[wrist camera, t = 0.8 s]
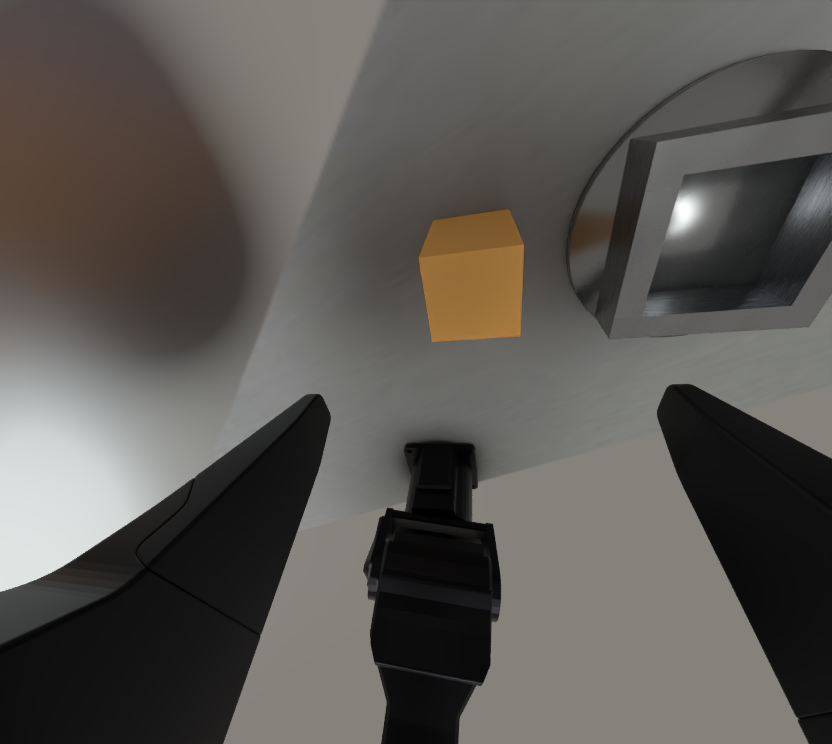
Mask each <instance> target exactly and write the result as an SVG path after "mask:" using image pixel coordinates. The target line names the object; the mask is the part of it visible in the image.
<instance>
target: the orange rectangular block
mask: <svg viewBox="0 0 832 744" xmlns="http://www.w3.org/2000/svg"><path fill="white" fill-rule="evenodd" d="M523 261H524V243H523V241H522V238H521V236H520V233H519V231H518V228H517V226H516V224H515V221H514V219H513V216H512V214H511V212H510V209H505V210H499V211H492V212H485V213H478V214H472V215H465V216H458V217H452V218H445V219H438V220H433V222H432V224H431V227H430V229H429V232H428V235H427V237H426V240H425V242H424V245H423V247H422V250H421V253H420V255H419V264H420V270H421V276H422V282H423V289H424V295H425V301H426V307H427V314H428V320H429V326H430V332H431V339H432V342H442V341H457V340H473V339H488V338H503V337H518V336H520V333H521V309H522V285H523Z"/></svg>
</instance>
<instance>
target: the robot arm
mask: <svg viewBox="0 0 832 744" xmlns="http://www.w3.org/2000/svg"><path fill="white" fill-rule="evenodd" d="M657 417H658V421H659V424H660V427H661V429H662V432H663V435H664V438H665V441H666V444H667V446H668V450H669V452H670V455H671V458H672V461H673V464H674V467H675V469H676V472H677V474H678V477H679V479H680V481H681V483H682V485H683V488H684V490H685V492H686V494H687V496H688V498H689V500H690V502H691V504H692V506H693V508H694V510H695V512H696V514H697V516H698V518H699V520H700V522H701V524H702V526H703V528H704V530H705V532H706V534H707V536H708V539H709V540H710V543H711V545H712V546H713V549H714V551H715V553H716V555H717V557H718V559H719V561H720V563H721V565H722V567H723V569H724V571H725V573H726V575H727V577H728V579H729V581H730V583H731V585H732V587H733V589H734V592H735V594H736V596H737V597H738V600H739V602H740V604H741V606H742V608H743V610H744V612H745V614H746V616H747V617H748V620H749V622H750V624H751V626H752V628H753V630H754V632H755V634H756V636H757V638H758V640H759V642H760V644H761V646H762V649H763V651H764V653H765V655H766V657H767V659H768V661H769V663H770V665H771V667H772V669H773V671H774V673H775V675H776V677H777V679H778V681H779V683H780V685H781V687H782V689H783V691H784V693H785V695H786V697H787V699H788V701H789V704H790V706H791V708H792V710H793V711H794V714H795V715H796V717H797V718H799V719H798V723H799V725H800V727H801V729H802V730H803V733H804V735H805V737H806V739H807V741H808V743H809V744H832V459H831V458H829V457H828V456H826V455H824V454H822V453H820V452H818V451H816V450H814V449H812V448H811V447H809V446H807V445H805V444H803V443H801V442H799V441H797V440H795V439H794V438H792V437H790V436H788V435H786V434H784V433H782V432H780V431H778V430H777V429H775V428H773V427H771V426H769V425H767V424H765V423H763V422H761V421H760V420H758V419H756V418H754V417H752V416H750V415H748V414H746V413H745V412H743V411H741V410H739V409H737V408H735V407H733V406H731V405H730V404H728V403H726V402H724V401H722V400H720V399H718V398H716V397H714V396H713V395H711V394H709V393H707V392H705V391H703V390H701V389H699V388H697V387H696V386H693V385H691V384H673V385H670V386H668V387H667V389H666V390H665V393H664V395H663V397H662V400H661V402H660V404H659V407H658V409H657ZM330 421H331V415H330V412H329V410H328V408H327V405H326V403H325V401H324V399H323V397H322V396H321V395H320V394H308V395H305V396H304V397H302V398H301V399H300V400H298V401H297V402H296V403H294V404H293V405H292V406H290V407H289V408H288V409H286V410H285V411H284V412H282V413H281V414H279V415H278V416H277V417H275V418H274V419H273V420H271V421H270V422H269V423H267V424H266V425H265V426H263V427H262V428H260V429H259V430H258V431H256V432H255V433H254V434H252V435H251V436H250V437H248V438H247V439H246V440H244V441H243V442H241V443H240V444H239V445H237V446H236V447H235V448H233V449H232V450H231V451H229V452H228V453H227V454H225V455H224V456H223V457H221V458H220V459H218V460H217V461H216V462H214V463H213V464H212V465H210V466H209V467H208V468H206V469H205V470H204V471H202V472H201V473H199V474H198V475H197V476H196V477H195V478H193V479H191V480H190V481H189V482H187V483H186V484H185V485H183V486H182V487H181V488H179V489H178V490H176V491H175V492H174V493H172V494H171V495H169V496H168V497H167V498H165V499H164V500H162V501H161V502H160V503H158V504H157V505H155V506H154V507H152V508H151V509H150V510H148V511H146V512H145V513H143V514H142V515H140V516H139V517H138V518H136V519H135V520H133V521H132V522H130V523H129V524H127V525H126V526H124V527H123V528H121V529H120V530H118V531H117V532H115V533H113V534H112V535H110V536H109V537H107V538H106V539H104V540H103V541H101V542H100V543H98V544H97V545H95V546H94V547H92V548H91V549H90V550H88V551H86V552H85V553H83V554H82V555H80V556H79V557H77V558H76V559H74V560H73V561H71V562H70V563H68V564H66V565H65V566H63V567H61V568H60V569H57V570H56V571H54V572H52V573H50V574H48V575H46V576H43V577H41V578H39V579H37V580H34V581H32V582H29V583H27V584H24V585H21V586H18V587H15V588H12V589H9V590H6V591H2V592H0V744H223V742H224V740H225V737H226V734H227V731H228V728H229V725H230V722H231V720H232V717H233V714H234V711H235V708H236V705H237V703H238V700H239V697H240V694H241V691H242V688H243V685H244V683H245V680H246V677H247V674H248V671H249V668H250V665H251V663H252V660H253V657H254V654H255V651H256V648H257V645H258V642H259V640H260V634H261V633H262V630H263V628H264V625H265V622H266V619H267V616H268V613H269V610H270V608H271V605H272V602H273V599H274V596H275V593H276V590H277V588H278V585H279V582H280V579H281V576H282V573H283V570H284V568H285V565H286V562H287V559H288V556H289V553H290V550H291V547H292V545H293V542H294V539H295V536H296V533H297V530H298V528H299V525H300V522H301V519H302V516H303V513H304V510H305V508H306V505H307V502H308V499H309V496H310V493H311V490H312V488H313V485H314V482H315V479H316V476H317V473H318V470H319V467H320V463H321V460H322V455H323V451H324V447H325V443H326V438H327V434H328V430H329V425H330ZM404 452H405V456H406V459H407V462H408V466H409V469H410V472H411V480H410V486H409V492H408V497H407V503H406V509H405V511H398V510H394V509H393V508H387V510H386V514H385V516H382V517H380V518H379V523H378V527H377V531H376V535H375V538H374V541H373V544H372V546H371V549H370V551H369V554H368V556H367V559H366V561H365V564H364V570H363V572H364V574H365V576H366V577H367V579H368V582H367V586H368V599H369V600H374V601H375V605H374V612H373V617H372V624H371V629H370V638H371V648H372V652H373V658H374V662H375V664H376V665H377V666H378V669H379V673H380V677H381V681H382V685H383V688H384V693H385V696H386V700H387V706H386V714H385V721H384V728H383V735H382V743H381V744H458V736H459V719H460V716H461V714H462V712H463V710H464V708H465V706H466V704H467V702H468V700H469V698H470V697H471V695H472V693H473V691H474V689H475V687H476V685H478V686H481V685H482V684H483V682H484V679H485V677H486V675H487V672H488V669H489V667H490V653H491V622H497V620H498V617H499V611H500V603H501V579H500V569H499V562H498V555H497V550H496V542H495V535H494V529H493V524H490V523H486V524H482V523H476V522H472V489H476V488H477V487H478V481H477V468H476V456H475V447H474V446H472V445H426V444H408V445H406V446H405V448H404Z"/></svg>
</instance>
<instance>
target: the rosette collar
mask: <svg viewBox="0 0 832 744" xmlns="http://www.w3.org/2000/svg"><path fill="white" fill-rule="evenodd" d="M567 267H568V273H569V276H570V280H571V283H572V285H573V288H574V290H575V292H576V294H577V296H578V297H579V299H580V300H581V302H582V303H583V305H584V306H585V308H586V309H587V310H588V311H589V312H590V313H591V314H592V315H593V316H594V317H595V318H596V319H597V320H598V322H599V324H600V325H601V327H602V328H603V330H604V332H605V333H606V335H607V336H608V338H609V339H618V338H634V337H673V336H683V335H688V334H701V333H718V332H735V331H751V330H768V329H785V328H801V327H809V326H810V325H811V323H812V322H813V320H814V319H815V317H816V316H817V314H818V313H819V312H820V310H821V309H822V307H823V306H824V304H825V303H826V301H827V300H828V298H829V297H830V295H831V294H832V52H831V51H826V50H795V51H788V52H781V53H774V54H769V55H765V56H760V57H756V58H752V59H749V60H745V61H742V62H738V63H735V64H732V65H729V66H727V67H724V68H722V69H719V70H717V71H715V72H712V73H710V74H707V75H706V76H704V77H702V78H700V79H698V80H696V81H694V82H693V83H691V84H689V85H687V86H685V87H683V88H682V89H680V90H679V91H677V92H676V93H674V94H673V95H671V96H670V97H668V98H667V99H665V100H664V101H662V102H661V103H660V104H659V105H657V106H656V107H655V108H654V109H652V110H651V111H650V112H649V113H647V114H646V115H645V116H644V117H643V118H641V119H640V120H639V121H638V122H637V123H636V124H635V125H634V126H633V127H632V128H631V129H630V130H629V131H628V132H627V133H626V134H625V135H624V136H623V137H622V138H621V139H620V140H619V141H618V143H617V144H616V145H615V146H614V147H613V148H612V150H611V151H610V152H609V153H608V154H607V155H606V157H605V158H604V160H603V161H602V162H601V164H600V165H599V167H598V168H597V169H596V171H595V172H594V174H593V176H592V177H591V179H590V181H589V182H588V184H587V186H586V188H585V189H584V191H583V193H582V196H581V198H580V200H579V202H578V205H577V207H576V209H575V212H574V215H573V219H572V222H571V225H570V230H569V235H568V240H567Z"/></svg>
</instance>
